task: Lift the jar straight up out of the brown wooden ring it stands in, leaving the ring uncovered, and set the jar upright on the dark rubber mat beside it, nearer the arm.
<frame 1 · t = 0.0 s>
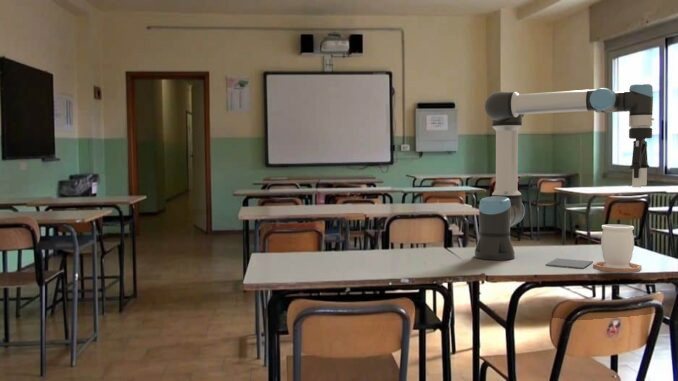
hand: (639, 186, 224), 28 cm above the table, tool pointing down, fingers open, 13 cm apart
brown wooden ring: (617, 268, 216), on the table
jar: (617, 268, 216), resting in brown wooden ring
mat: (569, 264, 225), on the table
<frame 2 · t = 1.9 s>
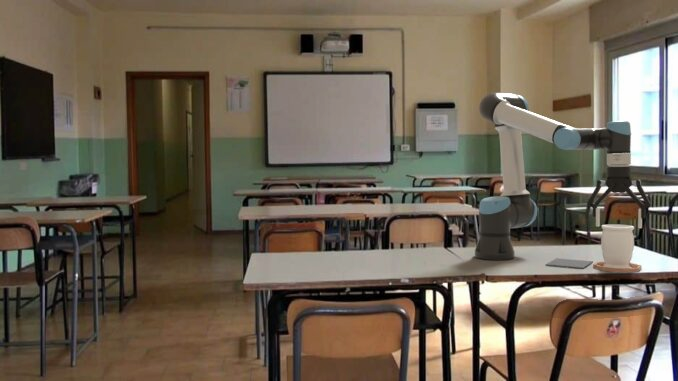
hand: (618, 227, 215), 14 cm above the table, tool pointing down, fingers open, 13 cm apart
nothing on the table moved.
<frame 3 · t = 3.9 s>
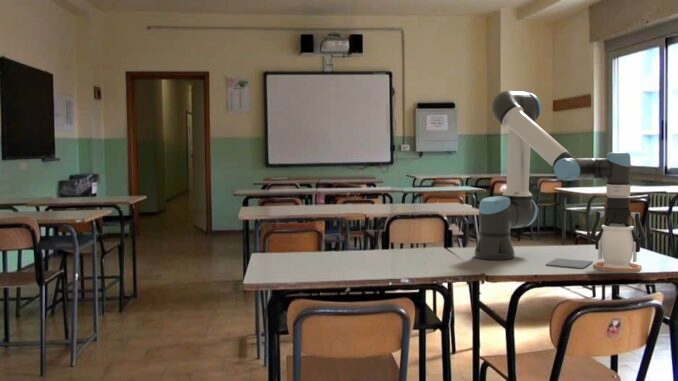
hand: (617, 260, 216), 3 cm above the table, tool pointing down, fingers closed on jar, 10 cm apart
jar: (617, 268, 216), resting in brown wooden ring, touching gripper
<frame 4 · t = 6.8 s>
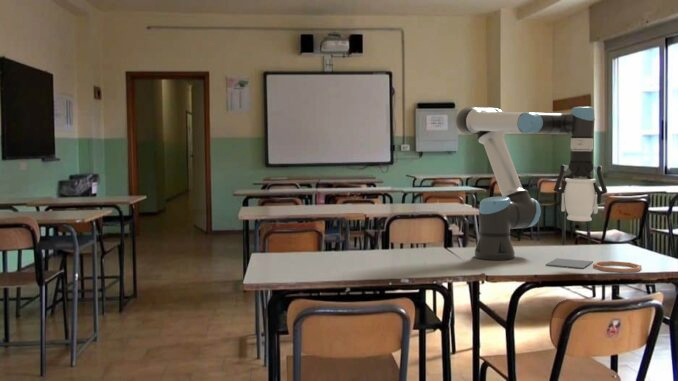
hand: (579, 212, 222), 19 cm above the table, tool pointing down, fingers closed on jar, 10 cm apart
jar: (579, 220, 223), point 16 cm above the table, touching gripper
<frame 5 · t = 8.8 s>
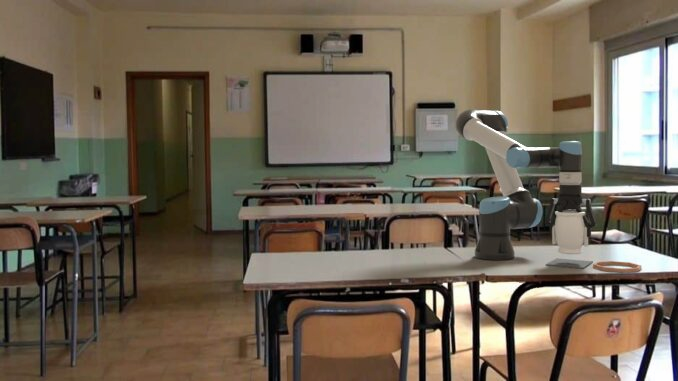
hand: (570, 245, 224), 7 cm above the table, tool pointing down, fingers closed on jar, 10 cm apart
jar: (569, 253, 224), point 4 cm above the table, touching gripper
when the fingers open (5 cm above the table, at t = 10.2 s): jar drops 1 cm, resting on mat.
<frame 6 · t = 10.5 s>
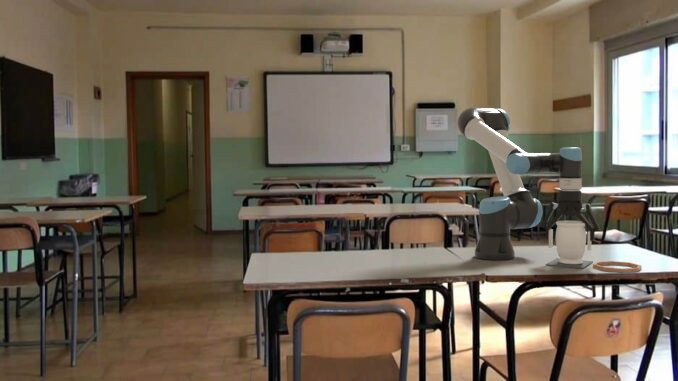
hand: (569, 248, 225), 6 cm above the table, tool pointing down, fingers open, 13 cm apart
jar: (570, 263, 225), resting on mat
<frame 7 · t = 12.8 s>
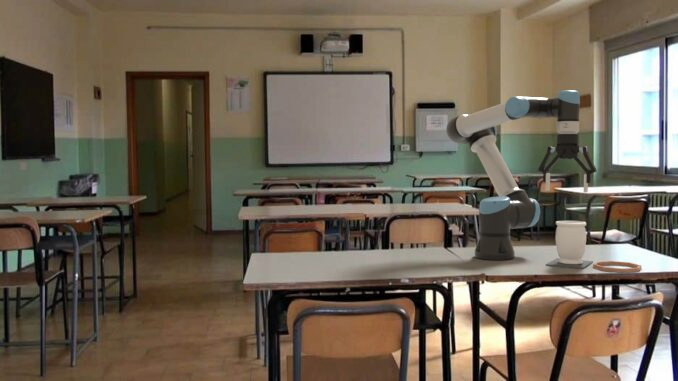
hand: (566, 191, 227), 26 cm above the table, tool pointing down, fingers open, 13 cm apart
nothing on the table moved.
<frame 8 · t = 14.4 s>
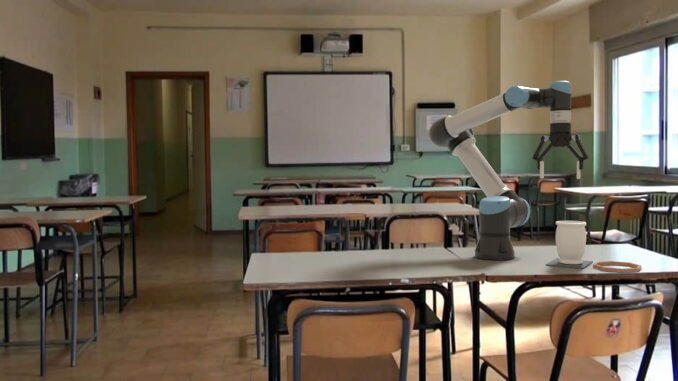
hand: (559, 178, 236), 31 cm above the table, tool pointing down, fingers open, 13 cm apart
nothing on the table moved.
at the end: jar inside the target area on the mat (0.3 cm from its centre), point 0.3 cm above the mat's base; jar tilted 0°; the gripper is holding nothing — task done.
